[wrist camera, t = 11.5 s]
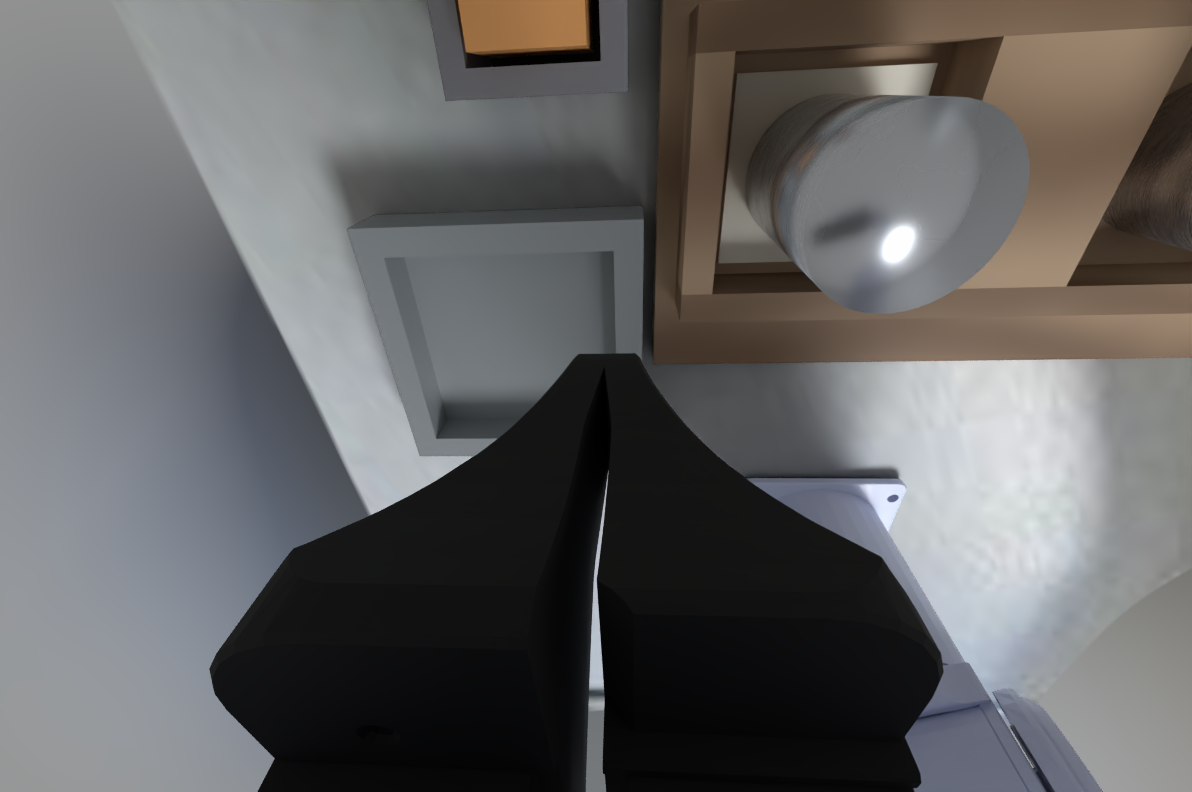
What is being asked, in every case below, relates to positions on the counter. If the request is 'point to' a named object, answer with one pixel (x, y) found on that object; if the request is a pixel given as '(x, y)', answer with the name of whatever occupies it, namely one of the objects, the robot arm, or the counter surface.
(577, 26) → the button
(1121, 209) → the cylinder
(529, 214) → the shallow grey tray
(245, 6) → the counter surface
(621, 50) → the button housing
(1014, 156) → the billet
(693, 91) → the wooden compartment tray
